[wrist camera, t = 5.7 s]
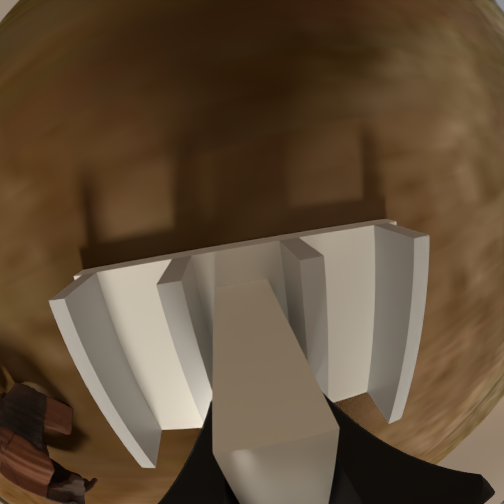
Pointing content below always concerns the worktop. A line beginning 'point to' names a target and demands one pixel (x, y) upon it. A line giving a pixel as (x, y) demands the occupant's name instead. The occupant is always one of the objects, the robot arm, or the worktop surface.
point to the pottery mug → (37, 446)
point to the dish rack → (202, 322)
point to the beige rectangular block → (267, 404)
